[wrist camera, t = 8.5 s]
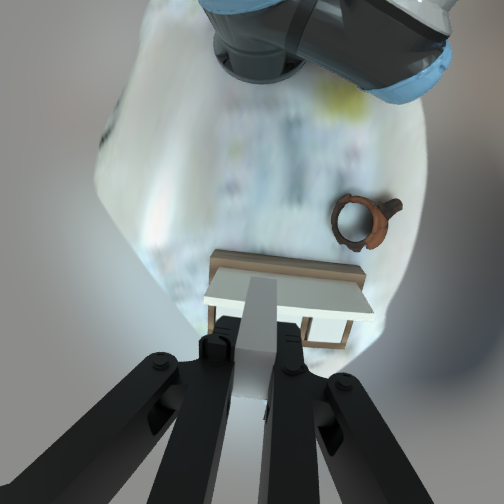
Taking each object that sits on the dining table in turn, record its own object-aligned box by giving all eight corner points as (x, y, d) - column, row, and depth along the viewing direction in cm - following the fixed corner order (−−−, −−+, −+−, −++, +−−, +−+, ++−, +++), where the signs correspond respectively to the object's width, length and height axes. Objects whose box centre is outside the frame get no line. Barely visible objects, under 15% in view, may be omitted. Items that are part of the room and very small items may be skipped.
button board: (215, 249, 47) (210, 257, 43) (359, 266, 45) (366, 275, 42) (212, 323, 51) (207, 335, 48) (340, 337, 50) (344, 349, 46)
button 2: (312, 303, 46) (314, 311, 43) (345, 306, 46) (348, 314, 43) (306, 332, 48) (307, 340, 45) (337, 334, 48) (340, 342, 45)
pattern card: (219, 266, 43) (203, 296, 34) (355, 282, 42) (374, 313, 33) (218, 275, 44) (203, 306, 34) (353, 290, 43) (371, 323, 33)
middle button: (266, 302, 45) (265, 310, 43) (301, 306, 45) (303, 314, 42) (262, 331, 47) (261, 340, 45) (295, 335, 47) (296, 344, 44)
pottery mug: (357, 259, 46) (346, 265, 39) (329, 214, 48) (314, 211, 41) (413, 222, 40) (414, 221, 33) (383, 175, 42) (377, 165, 35)
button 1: (219, 293, 47) (216, 300, 44) (254, 297, 46) (253, 305, 44) (218, 322, 49) (215, 330, 46) (251, 326, 48) (249, 335, 46)
